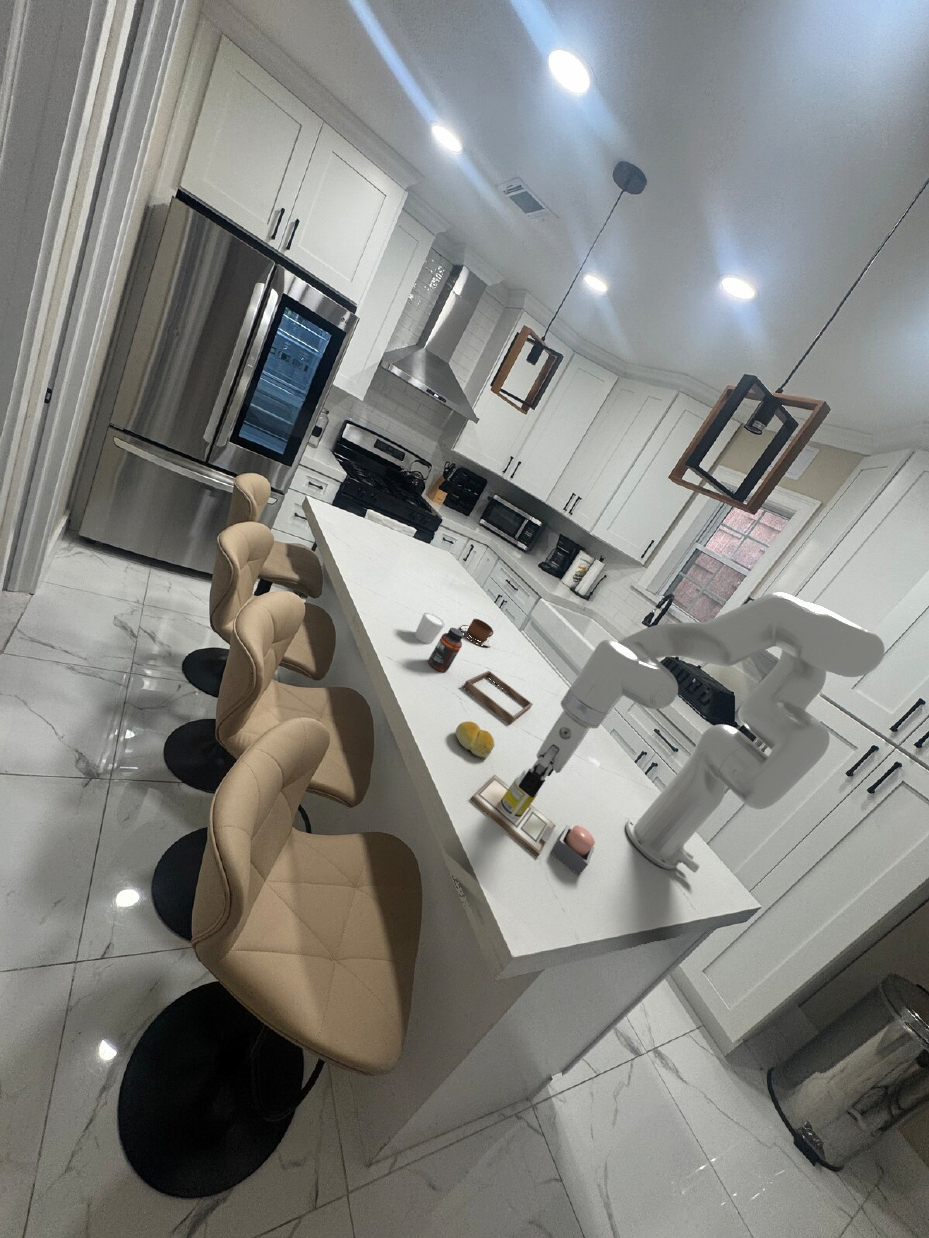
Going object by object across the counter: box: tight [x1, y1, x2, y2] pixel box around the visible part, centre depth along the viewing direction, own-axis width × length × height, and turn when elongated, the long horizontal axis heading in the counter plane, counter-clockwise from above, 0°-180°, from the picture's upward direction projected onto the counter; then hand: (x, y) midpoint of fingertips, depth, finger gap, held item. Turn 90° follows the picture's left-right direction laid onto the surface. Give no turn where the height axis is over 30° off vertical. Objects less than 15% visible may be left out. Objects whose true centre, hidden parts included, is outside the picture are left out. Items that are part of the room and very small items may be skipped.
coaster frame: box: [462, 670, 534, 725], centre depth 136 cm, size 16×16×2 cm
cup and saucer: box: [460, 618, 494, 648], centre depth 168 cm, size 12×12×6 cm
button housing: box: [550, 825, 595, 877], centre depth 92 cm, size 6×6×3 cm
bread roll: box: [455, 720, 496, 759], centre depth 107 cm, size 8×9×4 cm
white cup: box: [414, 612, 445, 645], centre depth 145 cm, size 7×7×7 cm
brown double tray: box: [470, 773, 557, 858], centre depth 94 cm, size 15×11×2 cm
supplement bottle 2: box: [500, 767, 540, 819], centre depth 92 cm, size 5×5×8 cm
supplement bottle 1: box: [428, 627, 465, 673], centre depth 133 cm, size 6×6×11 cm
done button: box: [565, 825, 596, 858], centre depth 91 cm, size 4×4×3 cm
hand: (534, 780), depth 92 cm, fingers open, 9 cm apart
